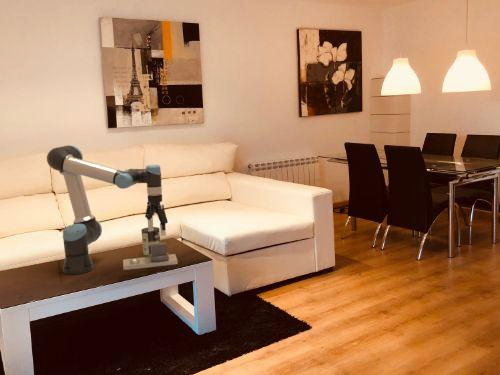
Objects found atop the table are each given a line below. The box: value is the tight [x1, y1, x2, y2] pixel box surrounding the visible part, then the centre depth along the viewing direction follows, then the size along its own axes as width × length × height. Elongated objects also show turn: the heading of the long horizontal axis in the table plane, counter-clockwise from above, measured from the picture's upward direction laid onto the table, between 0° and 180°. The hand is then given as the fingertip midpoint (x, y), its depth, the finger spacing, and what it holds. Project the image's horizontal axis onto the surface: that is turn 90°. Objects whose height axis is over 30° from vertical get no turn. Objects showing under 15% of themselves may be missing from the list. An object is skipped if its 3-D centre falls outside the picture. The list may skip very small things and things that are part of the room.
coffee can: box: [140, 226, 161, 256], centre depth 291 cm, size 10×10×14 cm
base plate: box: [122, 253, 178, 271], centre depth 273 cm, size 28×12×3 cm, turn 104°
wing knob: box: [149, 242, 170, 262], centre depth 273 cm, size 10×10×8 cm
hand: (156, 233), depth 271 cm, fingers open, 13 cm apart
